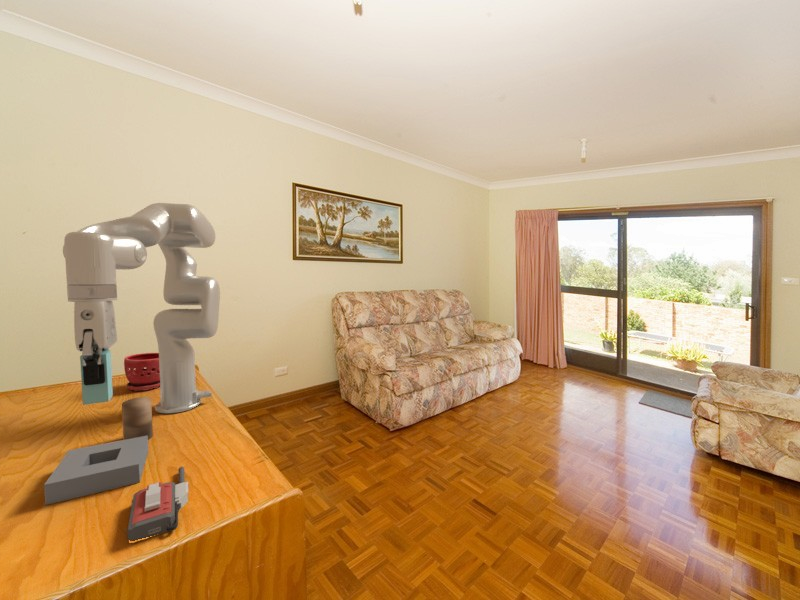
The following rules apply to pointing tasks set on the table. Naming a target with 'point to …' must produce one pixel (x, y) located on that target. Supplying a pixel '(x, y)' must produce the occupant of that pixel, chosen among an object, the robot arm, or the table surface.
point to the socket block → (97, 469)
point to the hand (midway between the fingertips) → (97, 379)
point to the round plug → (137, 418)
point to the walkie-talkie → (157, 508)
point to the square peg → (98, 391)
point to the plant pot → (142, 371)
